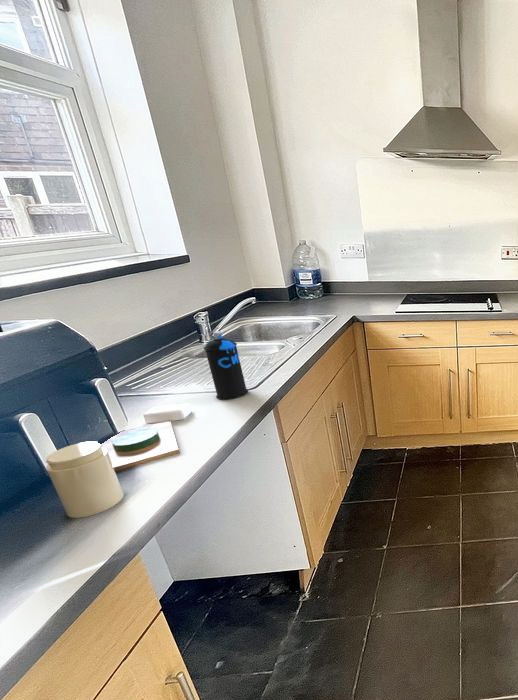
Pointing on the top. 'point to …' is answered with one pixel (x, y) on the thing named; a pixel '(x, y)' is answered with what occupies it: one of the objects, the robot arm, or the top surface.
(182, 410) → the soap
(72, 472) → the jar
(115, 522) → the top surface
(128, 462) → the white flat board
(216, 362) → the aerosol can
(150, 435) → the lid
